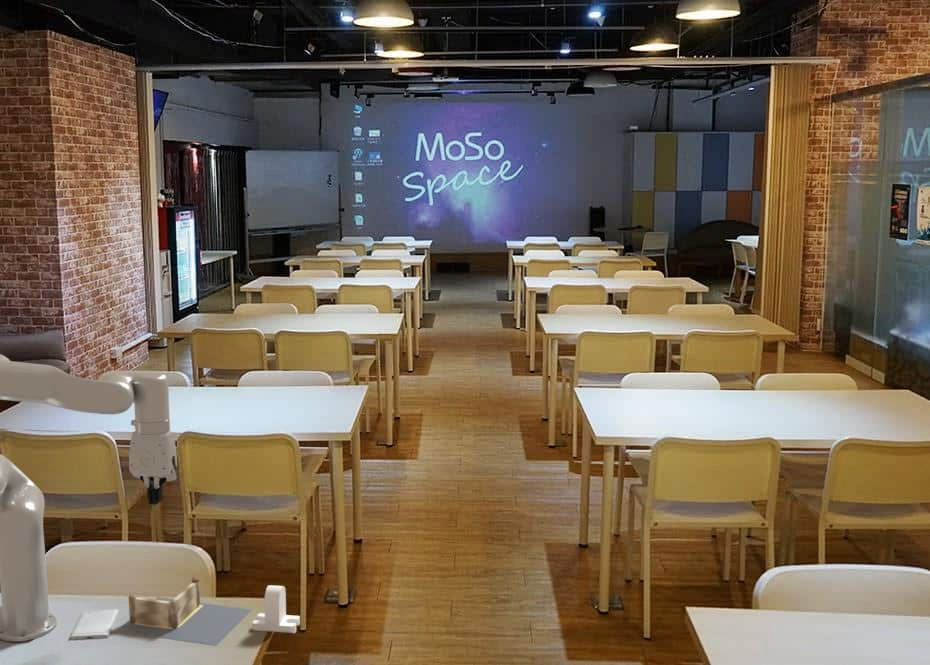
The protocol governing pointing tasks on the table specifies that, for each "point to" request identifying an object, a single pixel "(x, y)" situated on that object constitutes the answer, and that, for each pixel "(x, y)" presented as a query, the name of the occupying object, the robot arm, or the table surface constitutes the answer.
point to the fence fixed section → (149, 611)
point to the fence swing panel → (185, 602)
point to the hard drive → (95, 624)
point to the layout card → (194, 624)
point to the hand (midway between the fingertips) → (155, 502)
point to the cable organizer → (276, 613)
